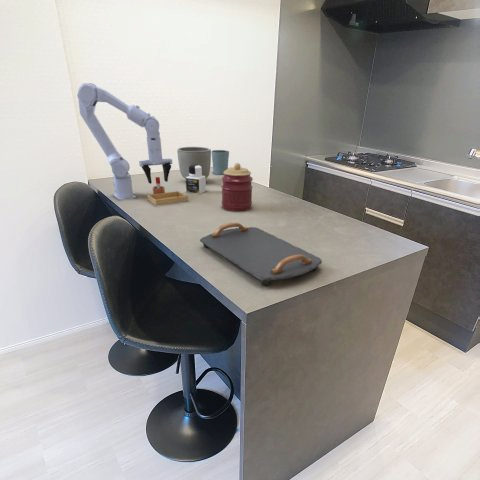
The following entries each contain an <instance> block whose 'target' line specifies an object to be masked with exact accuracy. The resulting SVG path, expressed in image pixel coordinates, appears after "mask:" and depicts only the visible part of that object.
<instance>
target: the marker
mask: <svg viewBox="0 0 480 480" xmlns="http://www.w3.org/2000/svg"><path fill="white" fill-rule="evenodd" d="M154 178H155V186H157V189H160V188H161V187H160V186H161V178H160V177H159V176H156V177H154Z"/></svg>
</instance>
